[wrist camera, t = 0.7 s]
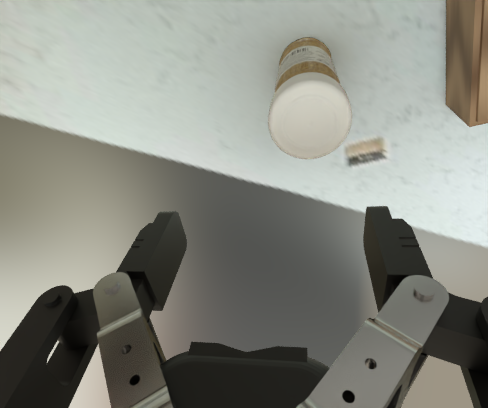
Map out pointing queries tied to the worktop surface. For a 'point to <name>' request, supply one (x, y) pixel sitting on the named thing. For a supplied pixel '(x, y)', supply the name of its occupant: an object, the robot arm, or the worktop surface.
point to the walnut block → (467, 60)
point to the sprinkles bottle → (308, 102)
